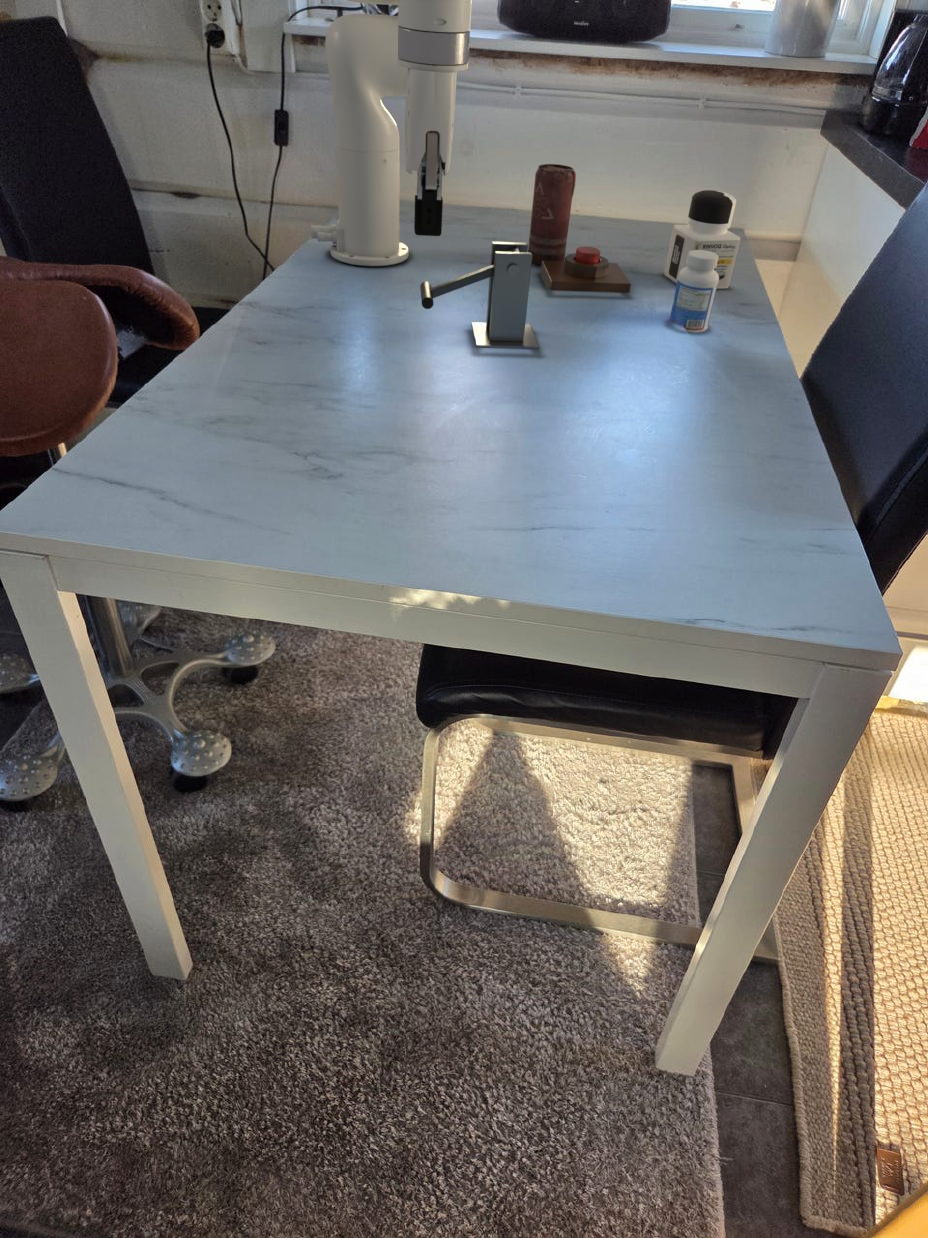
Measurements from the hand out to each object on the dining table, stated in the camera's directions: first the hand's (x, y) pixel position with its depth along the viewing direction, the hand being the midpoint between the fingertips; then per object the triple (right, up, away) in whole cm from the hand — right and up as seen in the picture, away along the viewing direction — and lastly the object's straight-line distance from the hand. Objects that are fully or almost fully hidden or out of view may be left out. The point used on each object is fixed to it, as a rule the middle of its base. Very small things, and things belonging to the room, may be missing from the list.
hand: (427, 233), depth 99 cm
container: (+41, +7, +33) cm, 54 cm away
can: (+18, +13, +37) cm, 43 cm away
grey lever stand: (+10, -10, +9) cm, 17 cm away
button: (+23, +8, +26) cm, 36 cm away
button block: (+23, +5, +28) cm, 37 cm away
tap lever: (+6, -5, +4) cm, 8 cm away
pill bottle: (+36, -5, +17) cm, 40 cm away
